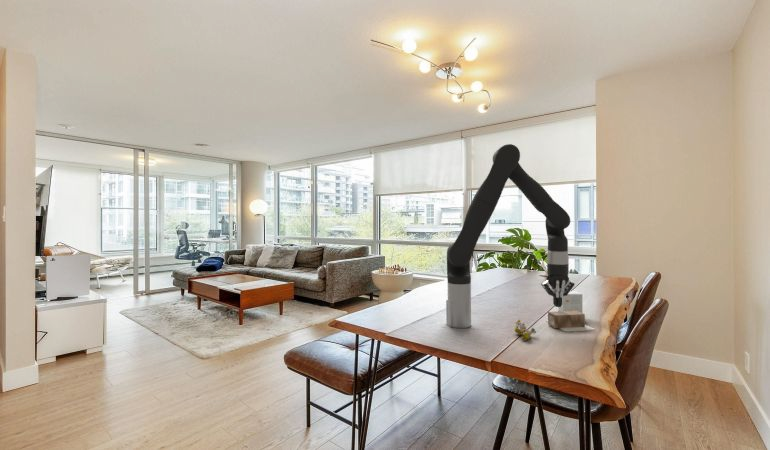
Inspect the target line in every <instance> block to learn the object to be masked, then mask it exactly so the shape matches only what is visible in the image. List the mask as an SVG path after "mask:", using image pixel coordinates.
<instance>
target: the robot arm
mask: <svg viewBox="0 0 770 450" xmlns="http://www.w3.org/2000/svg"><path fill="white" fill-rule="evenodd" d="M520 159H521V152H520V149H519V147H517V146H516V145H515V144H512V143H511V144H510V143H507V144H503V145H502V146H500V147H499V148H498V149H496V151H494V153H493V155H492V166H491V168H490V169H489V173H488V174H487V176H486V178H485V179H484V180H483V182H482V183H481V184H480V186H479V187H478V190H477V191H476V192H475V194H474V197H472V200H471V202H470V204H469V206H468V209H467V212H466V214H465V218H464V220H463V221H464V222H463V224H462V227H461V230H460V232H459V234H458V235H457V237H456V239H455V241H454V242H453V243H451V244H450V245H449V246H448V247H447V249H446V250H447V251H446V275H447V276H446V277H447V299H446V301H445V303H446V304H445V305H446V306H445V307H446V308H445V310H446V311H445V313H446V315H445V316H446V324H447V326H449V327H450V328H457V329H465V328H466V329H467V328H470V327H471V326H472V276H471V265H470V264H471V260H472V258H473V254H474V251H475V248H476V246H477V243H478V241H479V238H480V237H481V235H482V233H483V231H484V230H485V228H486V226H487V225H488V223H489V221H490V219H491V217H492V215H493V214H494V211H495V210H496V207H497V205H498V204H499V203H498V202H499V200H500V198H501V196H502V194H503V191H504V188H505V187H506V186H505V185H506V183H507V182H508V180H510V181H511V182H512V183H513V184H514V185H515V186H516V187H517V188H518V189H519V190H520V192H521V193H522V194H523V195H524V196H525V198H526V199H527V200H528V201H529V203H530V204H531V205H532V207H534V209H536V210H537V212H539V213H541V214H542V215H544V217H545V229H546V231H545V232H546V235H547V254H546V259H547V260H546V266H547V267H546V270H547V271H546V274H547V277H546V281H544V282H541V284H540V285H541V286H542V288H543V289H544V291H545V292H546V293H547V294H548V295H549V296H551V297H553V299H552V301H553V303H552V304H553V306H554V307H556V308H558V307H561V305H562V297H563V296H567V295H568V293H569V292H570V291H572V289H573V288H574V286H575V283H574V282H572V281H571V280H570V277H569V273H570V271H569V263H570V262H569V247H568V246H569V243H568V242H569V241H568V240H569V239H568V237H567V236H566V234H565V229H567V228H568V227H569V226H570V225H571V217H570V215H569V213H568V212H567V211H566V209H564V208H563V207H562V206H561V205H560V204H558V203H557V202H556V201H555V200H554V199H553V198H552V196H551V195H550V194H549V193H548V191H547V190H546V189H545V188H544V187H543V186H542V184H540V183H539V182H537V181H536V180H535V179H534V178H533V177H532V176H531V175H529V174H528V173H527V172H526V170H524V168H523V167H522V166H521V163H519V162H520Z"/></svg>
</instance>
